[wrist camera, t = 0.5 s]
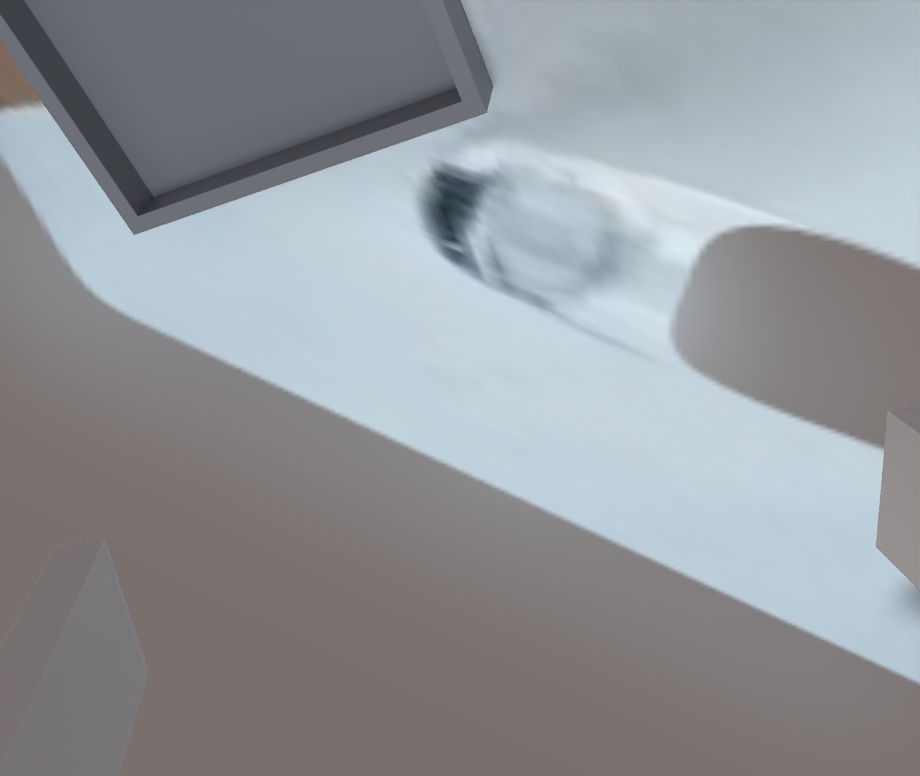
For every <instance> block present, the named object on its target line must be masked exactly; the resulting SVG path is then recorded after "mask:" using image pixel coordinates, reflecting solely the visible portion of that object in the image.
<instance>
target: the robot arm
mask: <svg viewBox="0 0 920 776" xmlns="http://www.w3.org/2000/svg"><path fill="white" fill-rule="evenodd" d="M876 547H877V548H878V549H879V550H880V551H881V552H882V553H883V554H884V555H885V556H886V557H887V558H888V559H889V560H890V561H891V562H892V563H893V564H894V565H895V566H896V567H897V568H898V569H899V570H900V571H901V572H902V573H903V574H904V575H905V576H906V577H907V578H908V579H909V580H910V581H911V582H912V583H913V584H914V585H915V586H916V587H917V588H918V589H919V590H920V405H919V406H913V407H907V408H901V409H895V410H888V414H887V425H886V437H885V448H884V460H883V471H882V483H881V494H880V506H879V517H878V529H877V540H876ZM147 676H148V670H147V667H146V664H145V661H144V658H143V655H142V652H141V648H140V645H139V642H138V639H137V636H136V633H135V630H134V627H133V624H132V621H131V618H130V615H129V612H128V609H127V606H126V603H125V600H124V597H123V593H122V590H121V588H120V585H119V581H118V578H117V575H116V572H115V569H114V566H113V563H112V560H111V557H110V554H109V551H108V548H107V545H106V542H105V539H104V538H101V539H94V540H88V541H82V542H76V543H70V544H64V545H58V546H55V548H54V550H53V552H52V554H51V555H50V557H49V559H48V561H47V563H46V564H45V566H44V568H43V570H42V572H41V574H40V576H39V577H38V579H37V581H36V583H35V585H34V587H33V588H32V590H31V592H30V594H29V596H28V598H27V600H26V601H25V603H24V605H23V607H22V609H21V611H20V613H19V614H18V616H17V618H16V620H15V622H14V624H13V625H12V627H11V629H10V631H9V633H8V635H7V637H6V639H5V640H4V642H3V644H2V646H1V648H0V776H118V774H119V770H120V767H121V763H122V760H123V757H124V753H125V750H126V747H127V743H128V740H129V736H130V733H131V730H132V726H133V723H134V720H135V716H136V713H137V709H138V706H139V703H140V699H141V696H142V692H143V689H144V686H145V682H146V679H147Z"/></svg>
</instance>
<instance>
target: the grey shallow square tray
mask: <svg viewBox="0 0 920 776" xmlns="http://www.w3.org/2000/svg"><path fill="white" fill-rule="evenodd" d="M0 42H1V43H2V45H3V46H4V48H5V49H6V50H7V52H8V53H9V55H10V56H11V58H12V59H13V61H14V62H15V63H16V65H17V66H18V68H19V69H20V71H21V72H22V74H23V75H24V76H25V78H26V79H27V81H28V82H29V84H30V85H31V87H32V88H33V89H34V91H35V92H36V94H37V95H38V97H39V98H40V100H41V101H42V102H43V104H44V105H45V107H46V108H47V110H48V111H49V113H50V114H51V115H52V117H53V118H54V120H55V121H56V123H57V124H58V126H59V127H60V128H61V130H62V131H63V133H64V134H65V136H66V137H67V139H68V140H69V141H70V143H71V144H72V146H73V147H74V149H75V150H76V152H77V153H78V154H79V156H80V157H81V159H82V160H83V162H84V163H85V165H86V166H87V167H88V169H89V170H90V172H91V173H92V175H93V176H94V178H95V179H96V181H97V182H98V183H99V185H100V186H101V188H102V189H103V191H104V192H105V194H106V195H107V196H108V198H109V199H110V201H111V202H112V204H113V205H114V207H115V208H116V209H117V211H118V212H119V214H120V215H121V217H122V218H123V220H124V221H125V222H126V224H127V225H128V227H129V228H130V230H131V231H132V233H133V234H134V235H135V234H138V233H141V232H144V231H147V230H150V229H152V228H155V227H158V226H161V225H164V224H167V223H170V222H173V221H176V220H178V219H181V218H184V217H187V216H190V215H193V214H196V213H199V212H202V211H204V210H207V209H210V208H213V207H216V206H219V205H222V204H225V203H227V202H230V201H233V200H236V199H239V198H242V197H245V196H248V195H251V194H253V193H256V192H259V191H262V190H265V189H268V188H271V187H274V186H277V185H279V184H282V183H285V182H288V181H291V180H294V179H297V178H300V177H303V176H305V175H308V174H311V173H314V172H317V171H320V170H323V169H326V168H329V167H331V166H334V165H337V164H340V163H343V162H346V161H349V160H352V159H355V158H357V157H360V156H363V155H366V154H369V153H372V152H375V151H378V150H381V149H383V148H386V147H389V146H392V145H395V144H398V143H401V142H404V141H407V140H409V139H412V138H415V137H418V136H421V135H424V134H427V133H430V132H432V131H435V130H438V129H441V128H444V127H447V126H450V125H453V124H456V123H458V122H461V121H464V120H467V119H470V118H473V117H476V116H479V115H482V114H484V113H487V109H488V105H489V101H490V97H491V92H492V88H493V85H492V82H491V80H490V77H489V74H488V72H487V69H486V67H485V64H484V61H483V59H482V56H481V53H480V51H479V48H478V46H477V43H476V40H475V38H474V35H473V32H472V30H471V27H470V24H469V22H468V19H467V17H466V14H465V11H464V9H463V6H462V3H461V1H460V0H0Z"/></svg>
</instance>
